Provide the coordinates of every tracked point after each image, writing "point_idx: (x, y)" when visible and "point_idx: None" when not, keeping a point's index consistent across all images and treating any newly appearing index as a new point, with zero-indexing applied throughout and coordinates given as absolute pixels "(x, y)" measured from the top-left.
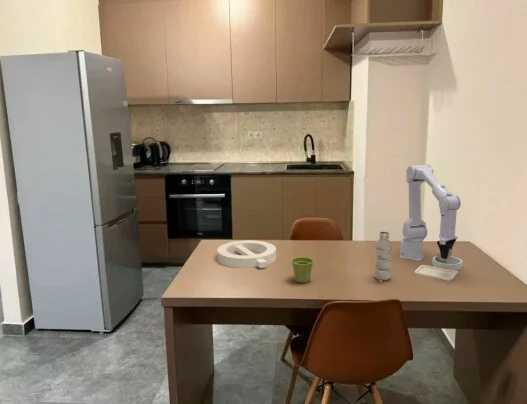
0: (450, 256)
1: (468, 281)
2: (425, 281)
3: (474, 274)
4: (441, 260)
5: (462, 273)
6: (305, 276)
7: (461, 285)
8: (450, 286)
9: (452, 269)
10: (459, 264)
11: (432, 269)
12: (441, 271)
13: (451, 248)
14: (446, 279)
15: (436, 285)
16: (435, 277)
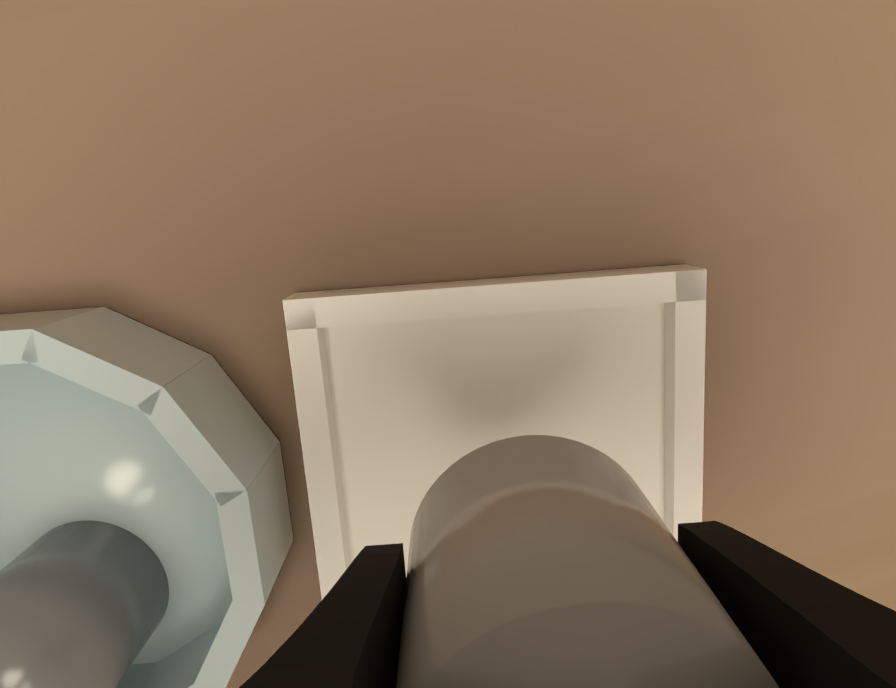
0: (601, 489)
1: (486, 70)
2: (819, 538)
3: (121, 81)
4: (119, 626)
5: (205, 246)
6: None
7: (710, 108)
8: (831, 225)
9: (225, 395)
10: (77, 342)
11: None
12: (381, 496)
13: (359, 662)
14: (698, 334)
15: (889, 386)
16: (694, 479)
